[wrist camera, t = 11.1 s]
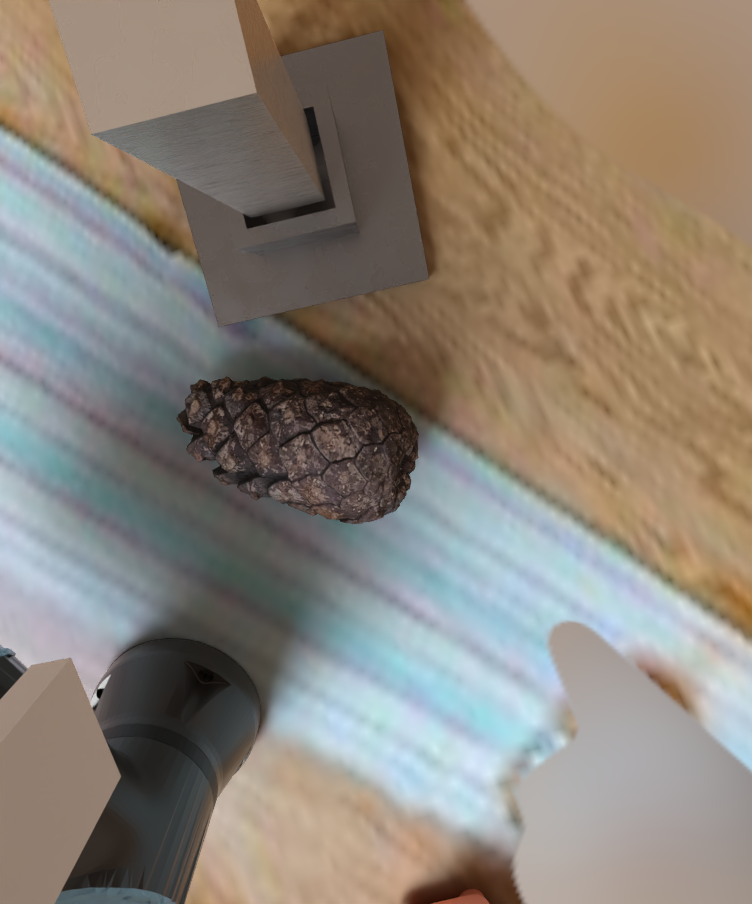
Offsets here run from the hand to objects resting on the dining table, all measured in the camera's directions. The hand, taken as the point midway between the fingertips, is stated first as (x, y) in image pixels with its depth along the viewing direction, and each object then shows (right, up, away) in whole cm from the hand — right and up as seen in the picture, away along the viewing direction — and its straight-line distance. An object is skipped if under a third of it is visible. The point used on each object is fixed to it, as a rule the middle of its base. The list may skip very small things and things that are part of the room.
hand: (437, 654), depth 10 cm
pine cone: (-7, +5, +37) cm, 38 cm away
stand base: (-7, +23, +32) cm, 39 cm away
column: (-7, +20, +23) cm, 32 cm away
